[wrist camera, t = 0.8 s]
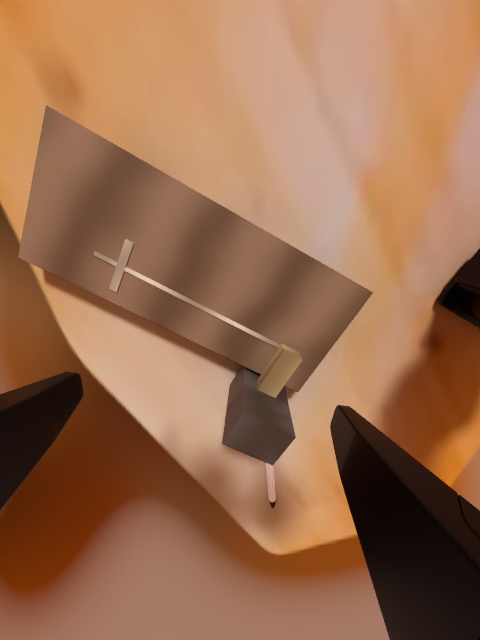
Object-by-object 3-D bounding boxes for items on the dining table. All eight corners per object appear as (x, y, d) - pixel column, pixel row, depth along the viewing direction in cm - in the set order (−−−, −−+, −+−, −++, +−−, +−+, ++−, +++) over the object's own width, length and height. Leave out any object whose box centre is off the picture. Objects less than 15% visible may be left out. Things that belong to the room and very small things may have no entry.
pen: (265, 369, 23) (266, 375, 22) (276, 504, 30) (277, 514, 28) (256, 369, 23) (257, 376, 22) (268, 504, 30) (269, 514, 29)
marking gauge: (306, 346, 21) (330, 395, 15) (266, 402, 23) (272, 465, 17) (266, 325, 21) (273, 368, 14) (229, 385, 23) (222, 443, 17)
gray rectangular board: (361, 286, 19) (373, 292, 17) (293, 378, 23) (298, 393, 21) (69, 119, 16) (44, 104, 14) (40, 254, 20) (16, 257, 18)
